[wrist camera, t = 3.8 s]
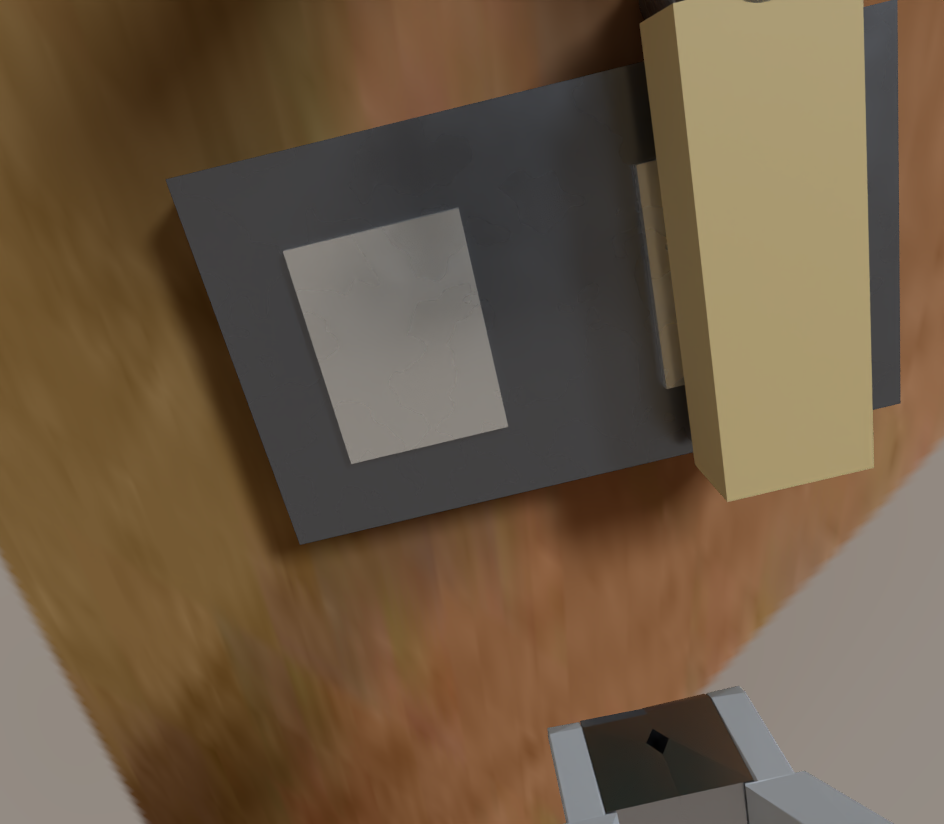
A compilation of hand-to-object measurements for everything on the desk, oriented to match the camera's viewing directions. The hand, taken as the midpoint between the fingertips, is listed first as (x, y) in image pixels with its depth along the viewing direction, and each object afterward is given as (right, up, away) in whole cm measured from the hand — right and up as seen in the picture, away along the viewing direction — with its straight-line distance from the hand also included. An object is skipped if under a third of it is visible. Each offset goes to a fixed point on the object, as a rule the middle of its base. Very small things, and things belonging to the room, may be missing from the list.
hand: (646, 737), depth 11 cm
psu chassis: (0, +11, +16) cm, 20 cm away
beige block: (+6, +12, +12) cm, 18 cm away
